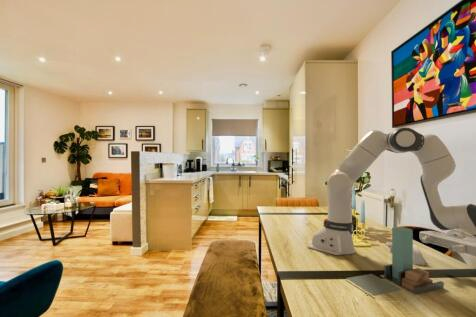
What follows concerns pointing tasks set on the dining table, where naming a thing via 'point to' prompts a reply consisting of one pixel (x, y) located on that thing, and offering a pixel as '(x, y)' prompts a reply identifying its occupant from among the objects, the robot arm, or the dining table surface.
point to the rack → (416, 289)
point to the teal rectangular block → (401, 250)
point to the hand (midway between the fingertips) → (436, 244)
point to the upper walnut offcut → (417, 275)
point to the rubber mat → (373, 284)
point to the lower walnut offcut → (411, 284)
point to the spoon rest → (417, 254)
